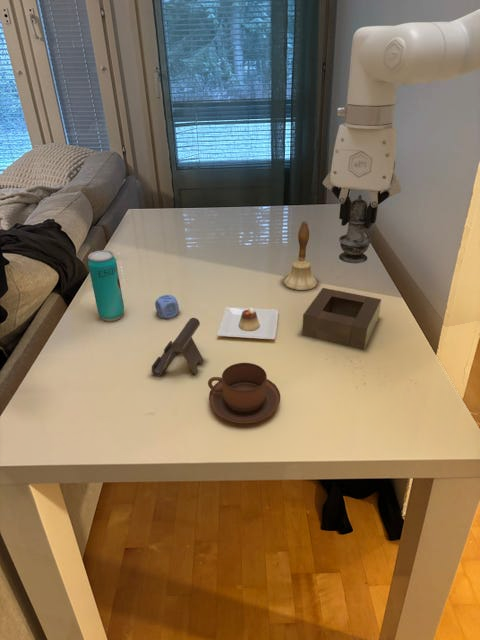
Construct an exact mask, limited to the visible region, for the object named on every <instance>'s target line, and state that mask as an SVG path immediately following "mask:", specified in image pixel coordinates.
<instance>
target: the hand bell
mask: <svg viewBox="0 0 480 640" xmlns="http://www.w3.org/2000/svg"><path fill="white" fill-rule="evenodd" d="M309 239H310V229H309V224H308V221H305V220H304V221H301V224H300V227H299V230H298V233H297V240H298V245H299V246H298V247H299V250H298V258H297V260H295V261H293V262H292V265H291V270H290V272H289V274H288V275H287V276H286V277H285V279H284V280H283V284H284V285H285V287H287V288H288V289H291V290H296V291H308V290H312V289H314V288H316V286H317V285H318V281H317V279H316V278H315V277H314V276H313V274H312V269H311V263H310V262H309V261H308V260H306V256H307V253H306V252H307V245H308V243H309Z"/></svg>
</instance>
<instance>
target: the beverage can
mask: <svg viewBox="0 0 480 640" xmlns="http://www.w3.org/2000/svg"><path fill="white" fill-rule="evenodd" d="M87 258H88V261H87V265H88V271H89V275H90V280H91V284H92V289H93V294H94V299H95V304H96V310H97V314H98V315H99V316H100V318H101V320H103V321H104V322H105V321H106V322H115V321H118V320H120V319H121V318H122V317H123V316H124V312H125V306H124V304H125V303H124V297H123V292H122V287H121V282H120V276H119V275H120V274H119V270H118V264H117V258H116V257H115V256H114V252H113V251H111V250H108V249H107V250H106V249H105V250H103V249H101V250H96V251H93V252H90V253H89V255H88V257H87Z"/></svg>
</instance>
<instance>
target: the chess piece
mask: <svg viewBox="0 0 480 640" xmlns="http://www.w3.org/2000/svg"><path fill="white" fill-rule="evenodd" d="M362 198H363V196H362V195H361V194H359V195H358V196H357V199H355V200H352V201H351V208H350V218H348V219H347V221H348V223H347V230H346V231H347V232H346V234H343V235H341V236H340V237H339V238H338V241H339V243H340V248H341V250H342V251H343V252H341V253H340V254H339V255H338V259H339V260H341V262H344V263H347V264H363V263H365V262H367V261H368V256H367V255H366V254H364V253H365V252H367V251H368V249H369V247H370V245H371V244H372V239H371V238H370V237H369V236H366V232H365V231H366V228H365V221H366V213H367V207H368V203H367V201H366V200H364V199H362Z"/></svg>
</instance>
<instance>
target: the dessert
mask: <svg viewBox="0 0 480 640" xmlns="http://www.w3.org/2000/svg"><path fill="white" fill-rule="evenodd" d="M279 312H280V310H279V309H276V308H274V309H273V308H255V307H252V306H249V307H237V306H226V307H225V309H224V311H223V315H222V317H221V318H222V319H221V321H220V324H219V327H218V329H217V330H218V331H217V333H216V336H217V337H226V338H227V337H228V338H242V339H243V338H245V339H258V340H259V339H262V340H276V336H277V329H278V328H277V327H278V319H279Z"/></svg>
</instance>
